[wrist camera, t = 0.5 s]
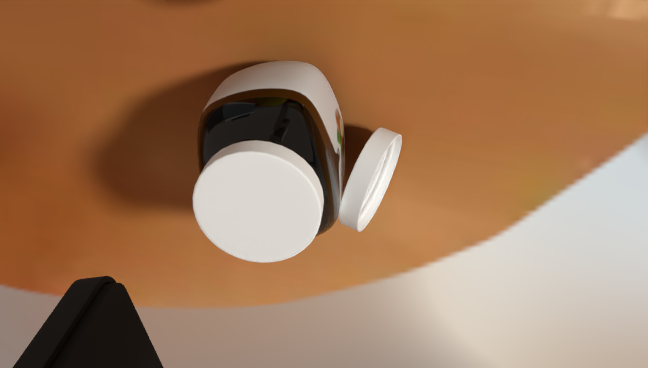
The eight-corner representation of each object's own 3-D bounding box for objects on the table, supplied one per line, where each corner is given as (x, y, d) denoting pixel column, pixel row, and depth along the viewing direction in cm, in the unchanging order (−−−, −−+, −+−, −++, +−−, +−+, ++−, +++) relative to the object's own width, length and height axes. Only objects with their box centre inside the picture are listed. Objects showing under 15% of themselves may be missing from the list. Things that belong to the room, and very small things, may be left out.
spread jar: (214, 60, 40) (155, 134, 30) (385, 28, 38) (382, 97, 28) (261, 212, 46) (224, 319, 36) (412, 192, 44) (418, 299, 33)
